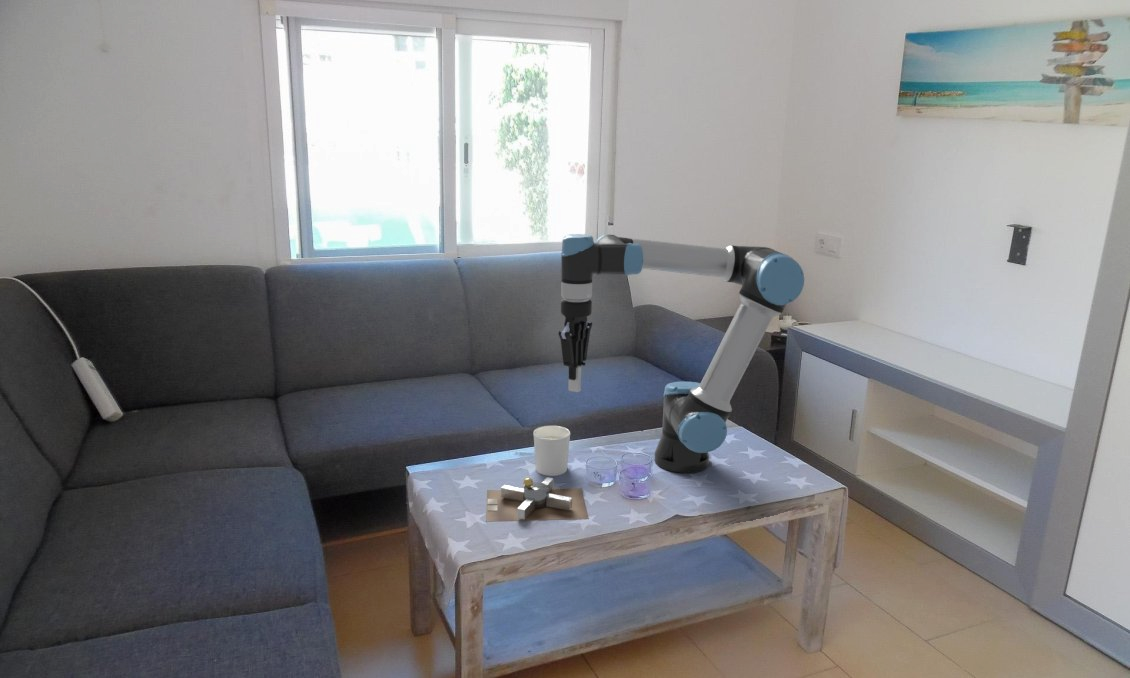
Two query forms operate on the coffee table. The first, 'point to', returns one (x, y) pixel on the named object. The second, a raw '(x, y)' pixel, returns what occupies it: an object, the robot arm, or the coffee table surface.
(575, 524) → the coffee table surface
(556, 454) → the candle holder
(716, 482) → the coffee table surface
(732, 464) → the coffee table surface
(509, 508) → the level base
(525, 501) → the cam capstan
